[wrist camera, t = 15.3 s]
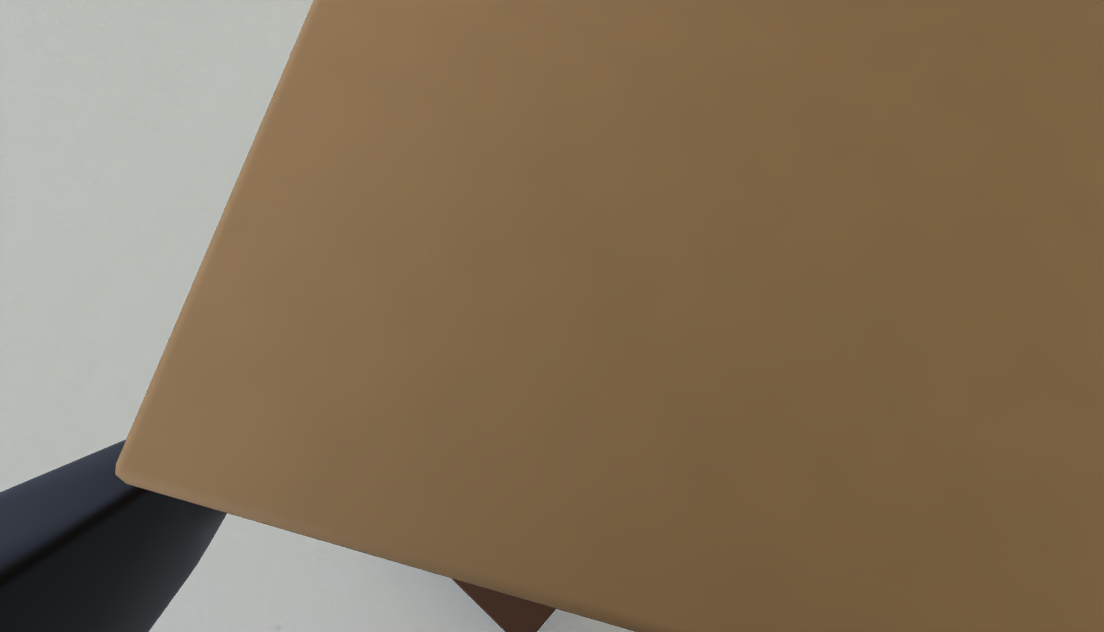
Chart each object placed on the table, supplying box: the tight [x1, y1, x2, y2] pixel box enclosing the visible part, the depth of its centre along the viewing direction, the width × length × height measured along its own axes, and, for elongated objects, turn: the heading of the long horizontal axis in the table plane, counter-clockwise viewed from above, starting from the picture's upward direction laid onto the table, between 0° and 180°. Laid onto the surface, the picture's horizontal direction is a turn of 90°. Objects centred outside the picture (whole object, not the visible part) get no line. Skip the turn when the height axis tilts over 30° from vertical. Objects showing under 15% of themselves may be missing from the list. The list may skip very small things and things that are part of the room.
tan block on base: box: [115, 0, 1104, 632], centre depth 11 cm, size 6×6×16 cm
